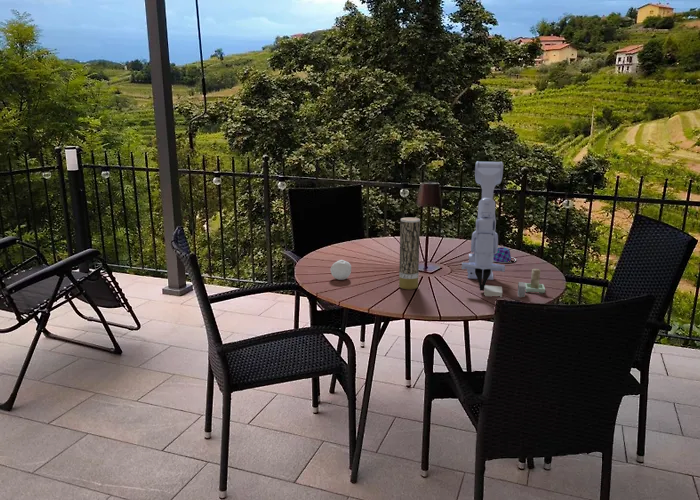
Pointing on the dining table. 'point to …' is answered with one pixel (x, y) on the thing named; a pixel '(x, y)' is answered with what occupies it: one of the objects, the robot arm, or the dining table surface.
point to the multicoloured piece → (502, 255)
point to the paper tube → (409, 253)
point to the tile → (493, 291)
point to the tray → (529, 289)
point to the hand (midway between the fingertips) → (481, 289)
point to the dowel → (535, 278)
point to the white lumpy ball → (341, 269)
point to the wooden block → (521, 289)
